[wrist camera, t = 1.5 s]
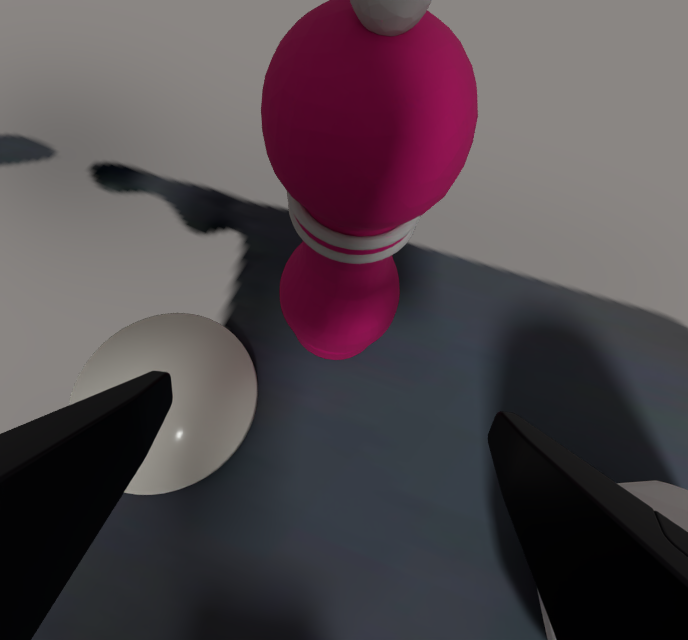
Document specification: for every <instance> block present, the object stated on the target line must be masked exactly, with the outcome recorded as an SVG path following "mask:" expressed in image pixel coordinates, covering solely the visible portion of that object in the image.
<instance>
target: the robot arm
mask: <svg viewBox="0 0 688 640" xmlns="http://www.w3.org/2000/svg"><path fill="white" fill-rule="evenodd" d="M172 401H173V393H172V382H171V376H170V374H169V373H168V372H162V371H151V372H148V373H146V374H143V375H141V376H139V377H136V378H134V379H131V380H129V381H127V382H124V383H122V384H119V385H117V386H115V387H112V388H110V389H107V390H105V391H102V392H100V393H98V394H95V395H93V396H90V397H88V398H86V399H83V400H81V401H78V402H76V403H74V404H71V405H69V406H67V407H64V408H62V409H59V410H57V411H55V412H52V413H50V414H47V415H45V416H42V417H40V418H38V419H35V420H33V421H31V422H28V423H26V424H23V425H21V426H18V427H16V428H14V429H11V430H9V431H6V432H4V433H1V434H0V640H31V639H32V637H33V636H34V634H35V632H36V631H37V629H38V628H39V626H40V624H41V623H42V621H43V620H44V618H45V617H46V615H47V613H48V612H49V610H50V609H51V607H52V605H53V604H54V602H55V601H56V599H57V598H58V596H59V594H60V593H61V591H62V590H63V588H64V586H65V585H66V583H67V582H68V580H69V579H70V577H71V575H72V574H73V572H74V571H75V569H76V567H77V566H78V564H79V563H80V561H81V560H82V558H83V556H84V555H85V553H86V552H87V550H88V548H89V547H90V545H91V544H92V542H93V541H94V539H95V537H96V536H97V534H98V533H99V531H100V529H101V528H102V526H103V525H104V523H105V522H106V520H107V518H108V517H109V515H110V514H111V512H112V510H113V509H114V507H115V506H116V504H117V502H118V501H119V499H120V498H121V496H122V495H123V493H124V491H125V490H126V488H127V487H128V485H129V483H130V482H131V480H132V479H133V477H134V476H135V474H136V472H137V471H138V469H139V468H140V466H141V464H142V463H143V461H144V459H145V458H146V456H147V454H148V452H149V450H150V448H151V446H152V444H153V442H154V440H155V438H156V436H157V434H158V432H159V430H160V428H161V426H162V424H163V422H164V420H165V418H166V416H167V414H168V412H169V410H170V407H171V405H172ZM488 444H489V448H490V451H491V455H492V459H493V463H494V466H495V470H496V474H497V478H498V482H499V485H500V489H501V492H502V495H503V498H504V501H505V504H506V507H507V509H508V512H509V515H510V517H511V520H512V523H513V525H514V528H515V531H516V533H517V536H518V539H519V541H520V544H521V546H522V549H523V552H524V554H525V557H526V560H527V562H528V565H529V568H530V570H531V573H532V576H533V578H534V581H535V584H536V586H537V589H538V592H539V594H540V597H541V600H542V602H543V605H544V608H545V610H546V613H547V616H548V618H549V621H550V623H551V626H552V629H553V631H554V634H555V637H556V639H557V640H688V532H687V531H686V530H684V529H683V528H681V527H680V526H678V525H677V524H675V523H674V522H672V521H671V520H669V519H668V518H666V517H665V516H664V515H662V514H661V513H659V512H658V511H654V510H653V508H652V507H650V506H649V505H647V504H646V503H645V502H643V501H642V500H640V499H639V498H637V497H636V496H634V495H633V494H631V493H630V492H628V491H627V490H626V489H624V488H623V487H621V486H620V485H618V484H617V483H615V482H614V481H612V480H611V479H610V478H608V477H607V476H605V475H604V474H602V473H601V472H599V471H598V470H596V469H595V468H594V467H592V466H591V465H589V464H588V463H586V462H585V461H583V460H582V459H580V458H579V457H578V456H576V455H575V454H573V453H572V452H570V451H569V450H567V449H566V448H564V447H563V446H562V445H560V444H559V443H557V442H556V441H554V440H553V439H551V438H550V437H548V436H547V435H545V434H544V433H543V432H541V431H540V430H538V429H537V428H535V427H534V426H532V425H531V424H529V423H528V422H527V421H525V420H524V419H522V418H521V417H519V416H518V415H516V414H515V413H511V412H502V411H500V412H498V413H497V414H496V416H495V418H494V421H493V423H492V426H491V428H490V431H489V433H488Z"/></svg>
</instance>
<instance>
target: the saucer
mask: <svg viewBox="0 0 688 640" xmlns="http://www.w3.org/2000/svg"><path fill="white" fill-rule="evenodd" d="M151 371H162V372H168V373H169V374H170V376H171V382H172V393H173V401H172V405H171V407H170V410H169V412H168V414H167V416H166V418H165V420H164V422H163V424H162V426H161V428H160V430H159V432H158V434H157V436H156V438H155V440H154V442H153V444H152V446H151V448H150V450H149V452H148V454H147V456H146V458H145V459H144V461H143V463H142V464H141V466H140V468H139V469H138V471H137V472H136V474H135V476H134V477H133V479H132V480H131V482H130V483H129V485H128V487H127V488H126V490H125V491H124V493H130V494H136V495H154V494H163V493H167V492H171V491H175V490H179V489H182V488H185V487H187V486H190V485H192V484H195V483H197V482H199V481H201V480H202V479H204V478H206V477H208V476H209V475H211V474H212V473H214V472H215V471H216V470H218V469H219V468H220V467H221V466H222V465H224V464H225V463H226V462H227V461H228V460H229V459H230V458H231V457H232V455H233V454H234V453H235V452H236V451H237V450H238V448H239V447H240V445H241V444H242V442H243V441H244V439H245V437H246V435H247V434H248V432H249V430H250V427H251V425H252V422H253V420H254V417H255V412H256V408H257V402H258V380H257V374H256V371H255V367H254V364H253V362H252V360H251V357H250V355H249V354H248V352H247V351H246V349H245V348H244V346H243V345H242V343H241V342H240V341H239V340H238V339H237V337H236V336H235V335H234V334H233V333H231V332H230V331H229V330H228V329H227V328H225V327H224V326H222V325H221V324H219V323H217V322H215V321H213V320H211V319H208V318H205V317H202V316H198V315H193V314H185V313H171V314H162V315H156V316H153V317H149V318H145V319H143V320H140V321H138V322H135V323H133V324H131V325H129V326H127V327H125V328H124V329H122V330H120V331H119V332H117V333H116V334H114V335H113V336H111V337H110V338H109V339H108V340H107V341H106V342H104V343H103V344H102V345H101V346H100V347H99V348H98V349H97V350H96V351H95V352H94V353H93V355H92V356H91V357H90V359H89V360H88V361H87V363H86V364H85V366H84V367H83V369H82V371H81V372H80V374H79V376H78V378H77V380H76V383H75V385H74V388H73V391H72V394H71V397H70V402H69V405H71V404H74V403H76V402H78V401H81V400H83V399H86V398H88V397H90V396H93V395H95V394H98V393H100V392H102V391H105V390H107V389H110V388H112V387H115V386H117V385H119V384H122V383H124V382H127V381H129V380H131V379H134V378H136V377H139V376H141V375H143V374H146V373H148V372H151Z"/></svg>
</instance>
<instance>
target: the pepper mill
mask: <svg viewBox="0 0 688 640" xmlns="http://www.w3.org/2000/svg"><path fill="white" fill-rule="evenodd" d="M430 3H431V0H329V1H327V2H325V3H323V4H321V5H320V6H318V7H316V8H315V9H313V10H311V11H310V12H308V13H307V14H306V15H304V16H303V17H302V18H301V19H299V20H298V21H297V22H296V23H295V25H294V26H293V27H292V28H291V29H290V30H289V31H288V32H287V34H286V35H285V36H284V38H283V39H282V40H281V42H280V44H279V46H278V47H277V49H276V52H275V53H274V55H273V57H272V60H271V62H270V65H269V67H268V70H267V73H266V75H265V80H264V86H263V93H262V105H261V115H262V131H263V136H264V141H265V146H266V150H267V155H268V157H269V160H270V163H271V165H272V167H273V170H274V172H275V174H276V176H277V177H278V179H279V180H280V182H281V183H282V184H283V186H284V187H285V188H286V190H287V196H288V202H289V205H288V206H289V215H290V218H291V221H292V223H293V226H294V228H295V230H296V232H297V233H298V235H299V236H300V237H301V239H302V240H303V242H302V243H301V244H300V245H299V246H298V247H297V248H296V249H295V250H294V252H293V253H292V255H291V257H290V258H289V260H288V261H287V263H286V265H285V268H284V270H283V273H282V276H281V280H280V303H281V309H282V312H283V315H284V317H285V319H286V321H287V323H288V325H289V326H290V327H291V329H292V330H293V332H294V333H295V335H296V337H297V339H298V340H299V342H300V343H301V344H302V345H303V346H304V347H305V348H306V349H307V350H308V351H309V352H311V353H313V354H315V355H316V356H319V357H322V358H324V359H331V360H343V359H347V358H350V357H353V356H355V355H357V354H359V353H361V352H362V351H363V350H364V349H365V348H366V347H367V346H368V345H370V344H372V343H373V342H375V341H376V340H377V339H379V338H380V337H381V336H382V335H383V334H384V333H385V331H386V330H387V329H388V328H389V326H390V324H391V322H392V321H393V318H394V315H395V313H396V309H397V306H398V303H399V295H400V290H399V276H398V272H397V268H396V265H395V262H394V260H393V257H392V255H393V254H394V253H396V252H398V251H399V250H400V249H401V248H402V247H403V246H405V244H406V243H407V242H408V241H409V239H410V238H411V236H412V234H413V232H414V230H415V227H416V224H417V223H418V221H419V220H420V217H421V215H422V214H424V213H425V212H426V211H427V210H429V209H430V208H431V207H432V206H434V205H435V204H436V203H437V202H438V201H440V200H441V199H442V198H443V197H444V196H445V195H446V193H447V192H448V190H449V189H450V187H451V186H452V184H453V183H454V181H455V179H456V178H457V176H458V175H459V173H460V172H461V170H462V168H463V167H464V164H465V162H466V159H467V156H468V154H469V151H470V148H471V145H472V143H473V138H474V133H475V128H476V122H477V117H478V110H477V87H476V81H475V77H474V72H473V68H472V65H471V63H470V61H469V59H468V57H467V55H466V52H465V50H464V48H463V46H462V44H461V42H460V41H459V39H458V38H457V37H456V36H455V35H454V33H453V32H452V31H451V30H450V28H449V27H447V26H446V25H445V24H444V23H443V22H441V20H439V19H438V18H437V17H435V16H434V15H433V14H431V13H430V12H429V11H427V9H428V7H429V5H430Z"/></svg>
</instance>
